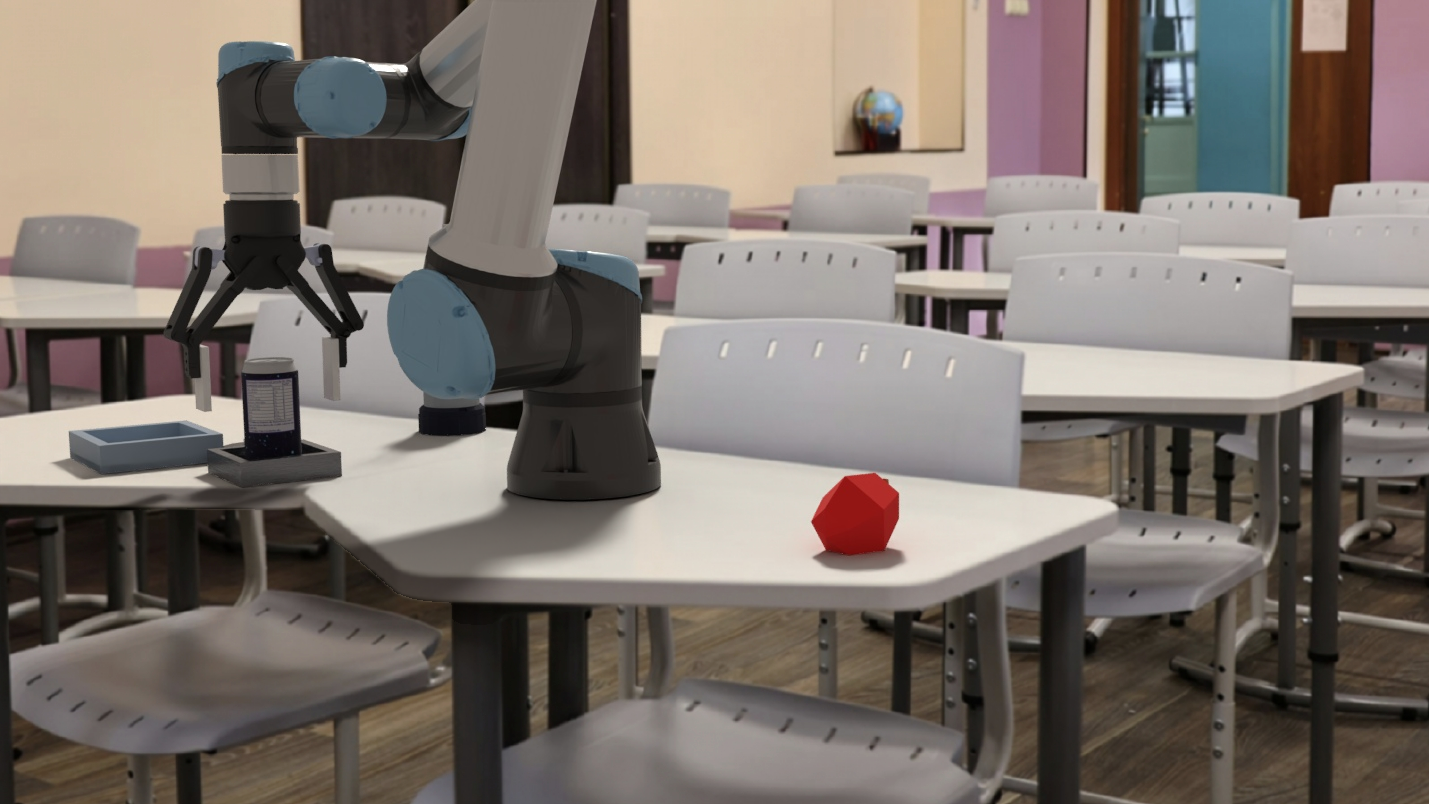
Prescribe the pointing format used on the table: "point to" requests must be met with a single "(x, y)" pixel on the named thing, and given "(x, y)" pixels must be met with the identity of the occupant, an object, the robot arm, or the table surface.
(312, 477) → the grey flat rectangular frame
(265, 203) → the robot arm
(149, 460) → the tray
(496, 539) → the table surface
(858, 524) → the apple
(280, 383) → the beverage can
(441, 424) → the humidifier
